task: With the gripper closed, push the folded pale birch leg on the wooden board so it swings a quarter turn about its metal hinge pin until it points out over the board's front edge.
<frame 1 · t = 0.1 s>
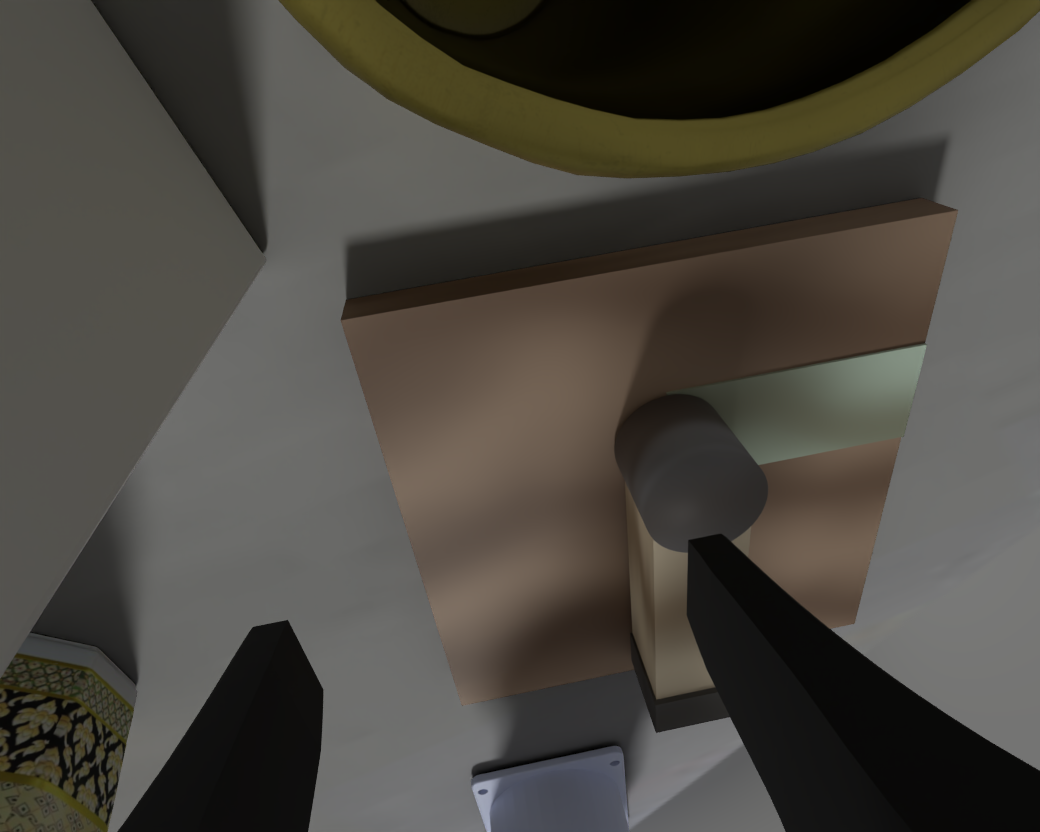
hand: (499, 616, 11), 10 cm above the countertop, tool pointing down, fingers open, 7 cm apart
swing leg: (684, 576, 21), point 3 cm above the countertop, hinge at 0.0°
wooden board: (646, 482, 23), on the countertop
milk carton: (66, 190, 16), on the countertop
ceramic cup: (21, 660, 24), on the countertop
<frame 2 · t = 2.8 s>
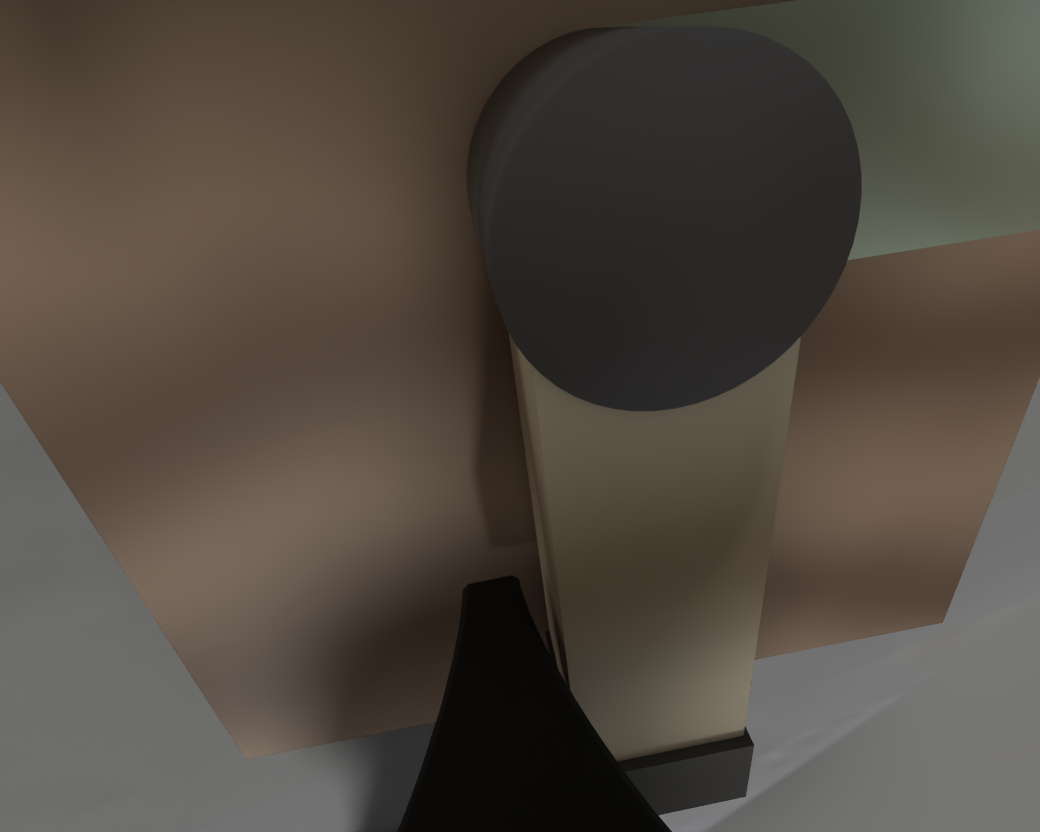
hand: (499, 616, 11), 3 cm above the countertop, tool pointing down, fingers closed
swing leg: (635, 506, 10), point 3 cm above the countertop, hinge at 0.3°, touching gripper
wooden board: (568, 330, 12), on the countertop
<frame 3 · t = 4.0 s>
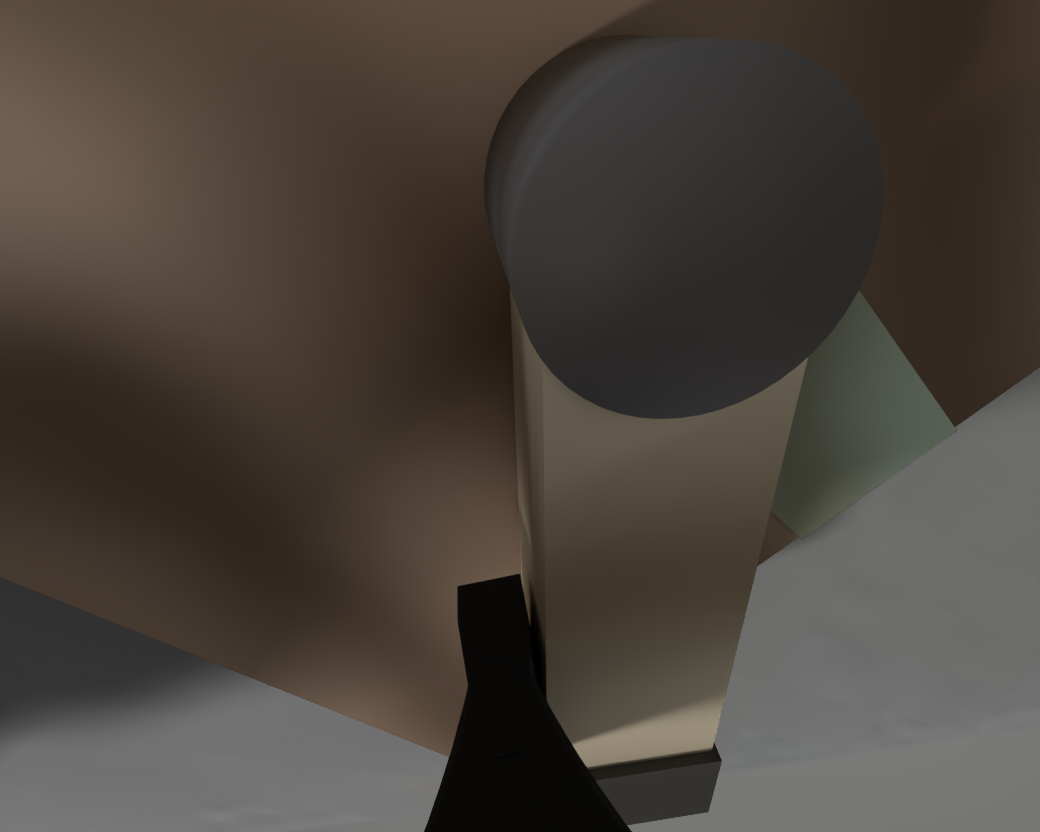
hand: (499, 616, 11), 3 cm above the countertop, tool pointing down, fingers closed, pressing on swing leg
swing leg: (624, 514, 10), point 3 cm above the countertop, hinge at 47.0°, touching gripper
wooden board: (450, 285, 11), on the countertop
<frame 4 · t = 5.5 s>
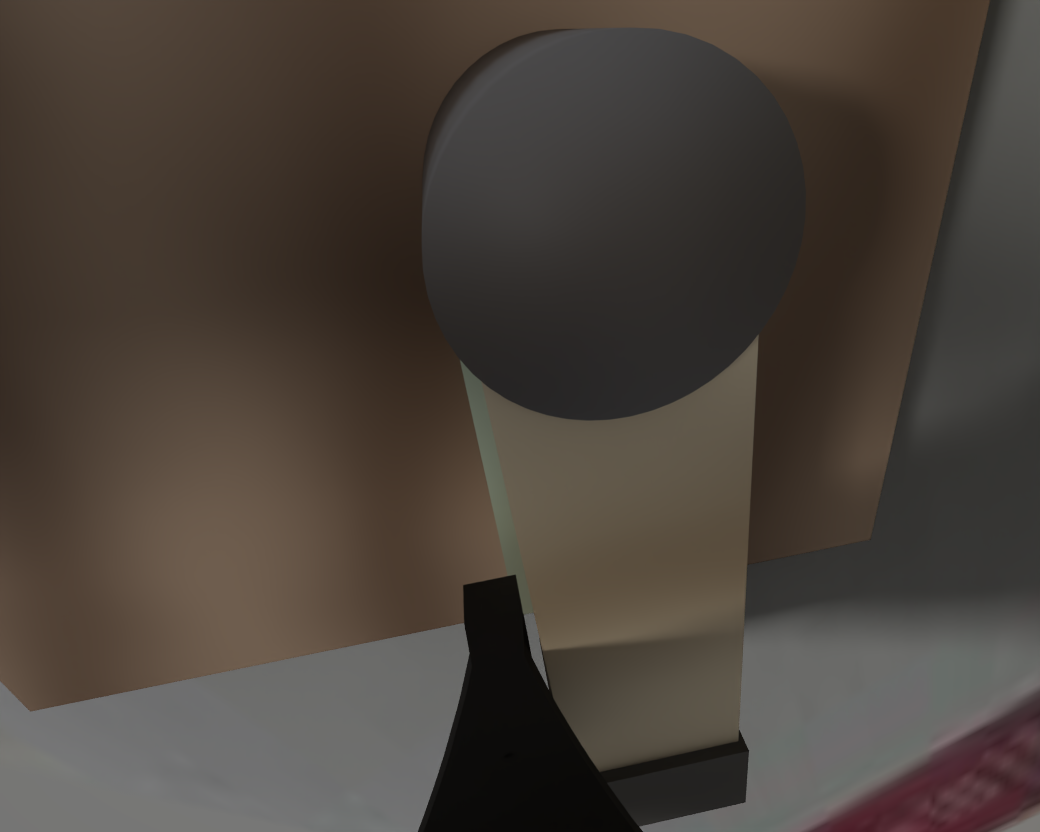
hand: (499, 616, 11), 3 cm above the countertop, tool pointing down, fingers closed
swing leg: (613, 512, 10), point 3 cm above the countertop, hinge at 91.1°, touching gripper
wooden board: (346, 179, 10), on the countertop
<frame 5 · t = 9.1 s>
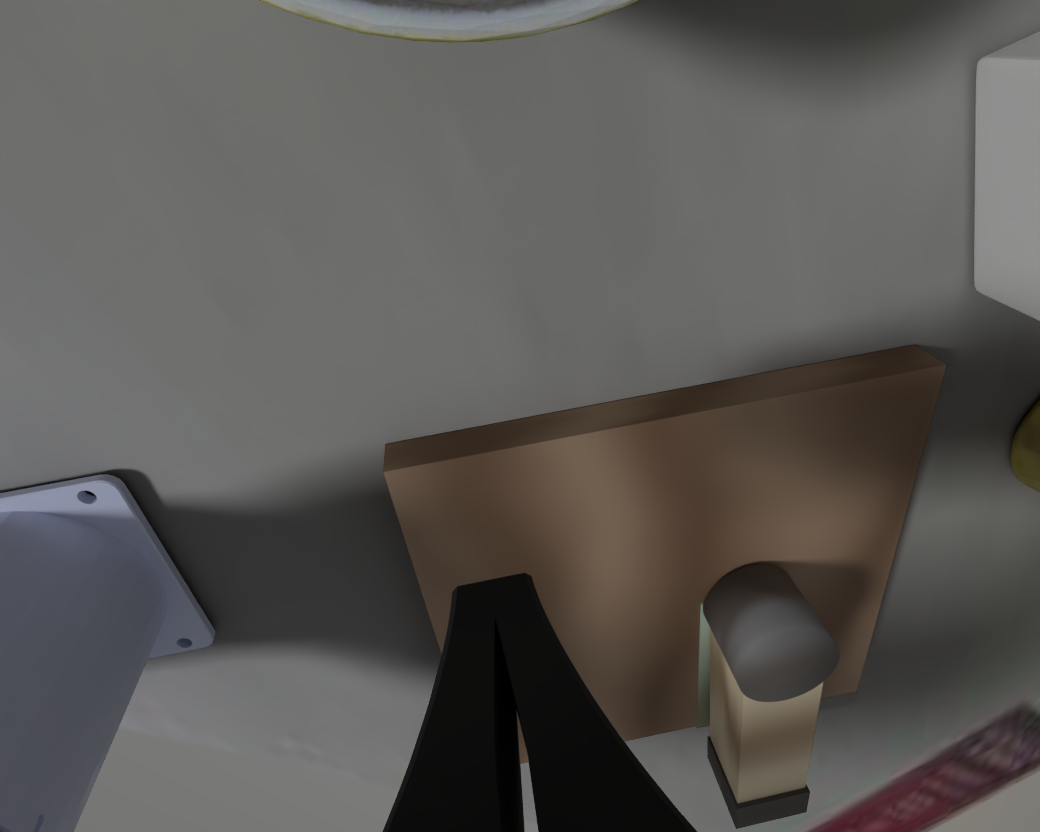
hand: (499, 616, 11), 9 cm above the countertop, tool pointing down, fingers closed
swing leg: (761, 704, 25), point 3 cm above the countertop, hinge at 91.9°
wooden board: (658, 576, 25), on the countertop
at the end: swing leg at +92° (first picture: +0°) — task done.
